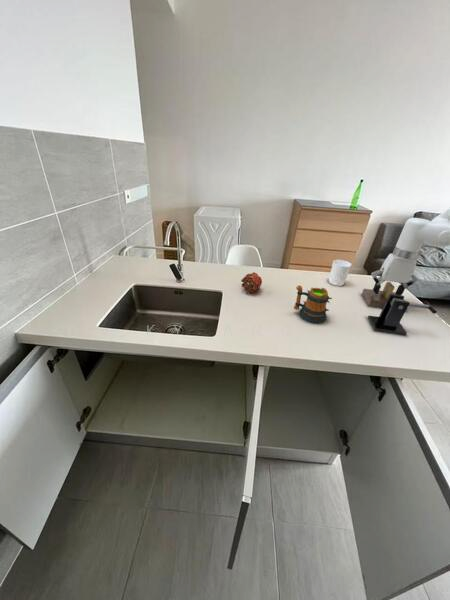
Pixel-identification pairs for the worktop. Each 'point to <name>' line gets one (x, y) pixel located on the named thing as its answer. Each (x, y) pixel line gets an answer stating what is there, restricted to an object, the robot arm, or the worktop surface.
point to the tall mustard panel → (387, 289)
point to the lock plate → (374, 298)
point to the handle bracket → (390, 316)
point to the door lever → (418, 305)
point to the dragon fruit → (252, 282)
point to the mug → (313, 304)
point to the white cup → (339, 272)
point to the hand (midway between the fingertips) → (386, 293)
